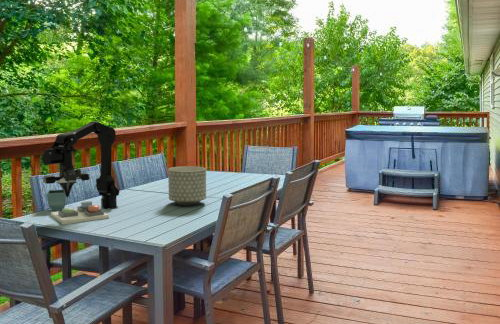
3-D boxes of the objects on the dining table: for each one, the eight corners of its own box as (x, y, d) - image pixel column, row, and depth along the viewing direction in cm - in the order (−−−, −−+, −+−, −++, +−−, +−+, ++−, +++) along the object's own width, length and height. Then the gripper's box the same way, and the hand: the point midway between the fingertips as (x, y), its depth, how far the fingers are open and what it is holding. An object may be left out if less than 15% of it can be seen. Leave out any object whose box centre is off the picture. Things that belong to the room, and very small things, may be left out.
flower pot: (47, 212, 240) (46, 193, 239) (49, 208, 248) (48, 190, 247) (66, 211, 242) (66, 192, 241) (68, 207, 251) (67, 189, 249)
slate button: (90, 206, 240) (90, 200, 240) (93, 207, 237) (93, 202, 236) (80, 207, 238) (79, 202, 237) (83, 209, 234) (83, 203, 233)
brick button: (97, 209, 232) (97, 204, 232) (100, 211, 228) (100, 206, 228) (86, 211, 230) (86, 205, 229) (90, 213, 226) (90, 207, 225)
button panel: (94, 210, 244) (93, 203, 244) (108, 218, 228) (108, 211, 228) (51, 215, 233) (50, 209, 232) (63, 224, 217) (63, 217, 216)
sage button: (72, 212, 231) (71, 207, 230) (75, 214, 227) (75, 209, 227) (61, 214, 228) (61, 208, 228) (64, 216, 224) (64, 210, 224)
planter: (199, 208, 248) (199, 172, 246) (163, 206, 252) (162, 170, 250) (210, 200, 267) (210, 166, 264) (176, 199, 270) (175, 165, 268)
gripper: (48, 166, 212) (50, 202, 214) (92, 162, 223) (94, 197, 225) (42, 163, 221) (43, 198, 223) (84, 160, 232) (86, 193, 234)
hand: (67, 197), depth 226 cm, fingers closed
